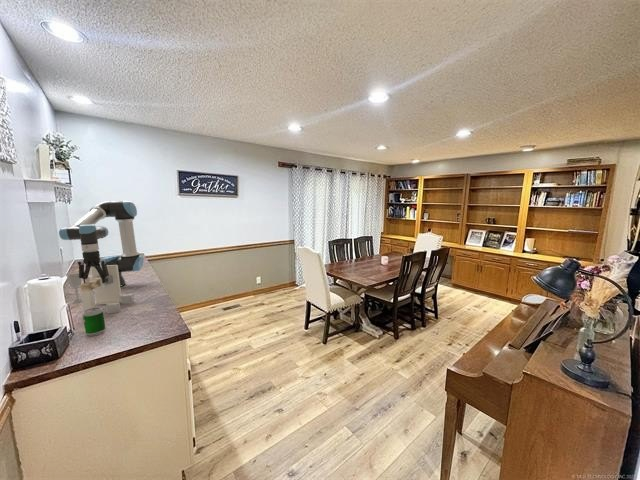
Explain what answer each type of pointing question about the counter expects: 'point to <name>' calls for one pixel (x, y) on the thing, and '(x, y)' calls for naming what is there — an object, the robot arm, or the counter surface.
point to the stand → (116, 306)
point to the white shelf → (108, 293)
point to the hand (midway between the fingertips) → (96, 288)
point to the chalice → (75, 285)
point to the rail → (91, 284)
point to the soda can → (94, 321)
